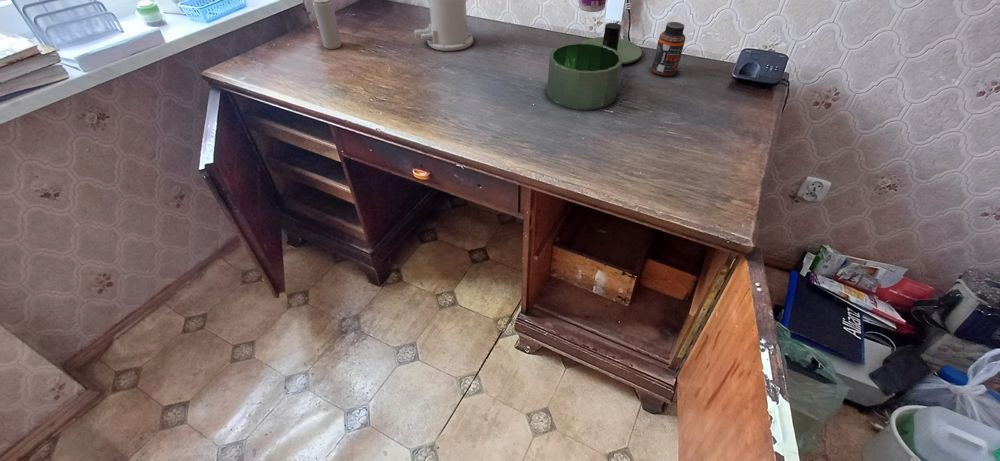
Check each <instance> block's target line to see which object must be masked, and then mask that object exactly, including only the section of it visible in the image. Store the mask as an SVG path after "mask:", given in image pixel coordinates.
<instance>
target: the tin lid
mask: <svg viewBox="0 0 1000 461" xmlns="http://www.w3.org/2000/svg"><path fill="white" fill-rule="evenodd" d="M621 31H622V25H621V24H620V23H616V22H608V23H605V24H604V31H603V36H598V37H590V38H588V39H584V40H582V41H581V42H580V43H594V44H599V45H604V46H607V47H609V48H612V49H614V50H616V51H617V52H618V53H619V54H621V55H622V60H623V64H622V65H627V64H631V63H634V62H636V61H638V60H639V59H641V57H642V54H643V51H642V48H641V47H640V46H639V45H638V44H636V43H635V42H633V41H630V40H627V39H624V38H620V36H621Z"/></svg>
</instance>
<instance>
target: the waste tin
mask: <svg viewBox="0 0 1000 461" xmlns="http://www.w3.org/2000/svg"><path fill="white" fill-rule="evenodd" d="M548 59H549V60H548V75H547V86H546V87H547V88H546V89H547V91H546V94H547V96H548V98H549V99H550V100H551V101H552V102H553V103H556V104H557V105H559V106H560V107H564V108H567V109H572V110H582V111H591V110H599V109H602V108H603V109H604V108H606V107H608V106H610V105H611V104H613V103H614V102H615V100H616V97H617V96H618V90H619V84H620V79H621V75H622V74H621V73H622V68H623V65H624V64H623V60H622V55H621V54H619V53H618V52H617V51H616V50H614V49H612V48H609V47H607V46H604V45H599V44H594V43H581V42H571V43H565V44H561V45H559V46H556V47H555V48H553V49H552V50H551V51H550V52H549V58H548Z"/></svg>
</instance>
